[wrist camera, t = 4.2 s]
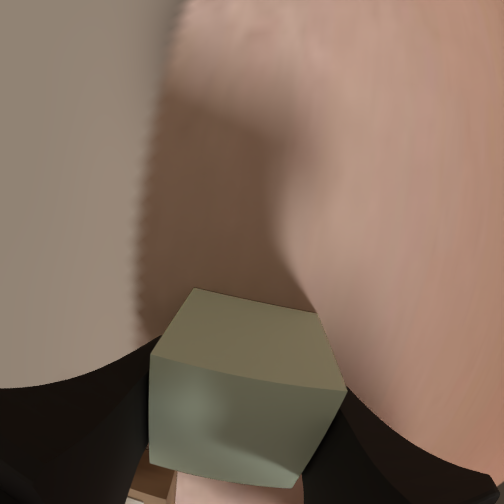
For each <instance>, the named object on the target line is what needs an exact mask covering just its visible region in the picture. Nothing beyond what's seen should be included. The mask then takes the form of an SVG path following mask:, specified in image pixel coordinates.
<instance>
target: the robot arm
mask: <svg viewBox="0 0 504 504" xmlns="http://www.w3.org/2000/svg"><path fill="white" fill-rule="evenodd" d="M161 337H162V335H161V336H159V337H157V338H155V339H154V340H152V341H150V342H148V343H147V344H145V345H144V346H142V347H140V348H138V349H137V350H135V351H133V352H131V353H130V354H128V355H126V356H124V357H122V358H121V359H119V360H117V361H114V362H112V363H110V364H108V365H106V366H104V367H102V368H100V369H97V370H95V371H92V372H89V373H87V374H84V375H81V376H78V377H75V378H71V379H68V380H64V381H59V382H54V383H50V384H45V385H39V386H33V387H23V388H10V389H9V388H7V389H6V388H4V389H1V388H0V504H125V502H126V499H127V496H128V493H129V490H130V487H131V484H132V481H133V478H134V475H135V472H136V469H137V466H138V464H139V461H140V459H141V457H142V455H143V453H144V451H145V449H146V447H147V445H148V443H149V372H150V354H151V352H152V351H153V349H154V347H155V346H156V344H157V343H158V341H159V340H160V338H161ZM346 388H347V391H348V392H347V394H346V396H345V398H344V400H343V402H342V404H341V406H340V408H339V409H338V411H337V413H336V415H335V417H334V419H333V421H332V423H331V425H330V426H329V428H328V430H327V432H326V434H325V435H324V437H323V439H322V441H321V442H320V444H319V446H318V447H317V449H316V451H315V452H314V454H313V456H312V457H311V459H310V461H309V462H308V464H307V465H306V467H305V469H304V470H303V472H302V479H303V489H304V504H495V503H496V501H497V500H498V498H499V496H500V492H499V490H498V488H497V487H496V485H495V483H494V481H493V480H492V478H491V477H490V475H488V474H484V473H480V472H476V471H473V470H469V469H466V468H462V467H459V466H457V465H454V464H452V463H449V462H447V461H444V460H442V459H440V458H438V457H436V456H434V455H432V454H430V453H428V452H426V451H424V450H423V449H421V448H419V447H417V446H416V445H414V444H412V443H411V442H409V441H408V440H406V439H405V438H404V437H402V436H401V435H399V434H398V433H397V432H395V431H394V430H392V429H391V428H390V427H389V426H387V425H386V424H385V423H384V422H383V421H382V420H380V419H379V418H378V417H377V416H376V415H375V414H374V413H373V412H372V411H371V410H369V409H368V408H367V407H366V406H365V405H364V404H363V403H362V402H361V401H360V400H359V399H358V398H357V397H356V395H355V394H354V393H353V392H352V391H351V390H350V389H349V388H348V387H347V386H346Z"/></svg>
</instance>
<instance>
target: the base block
mask: <svg viewBox="0 0 504 504" xmlns="http://www.w3.org/2000/svg"><path fill="white" fill-rule="evenodd" d="M176 482H177V471H176V470H172V469H168V468H165V467H161V466H158V465H154V464H151V463H150V459H149V450H148V449H145V451H144V453H143V455H142V457H141V459H140V461H139V464H138V466H137V469H136V472H135V475H134V478H133V481H132V484H131V487H130V490H129V493H128V496H127V499H126V502H125V504H175V495H176Z"/></svg>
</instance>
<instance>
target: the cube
mask: <svg viewBox="0 0 504 504" xmlns="http://www.w3.org/2000/svg"><path fill="white" fill-rule="evenodd" d="M347 392H348V391H347V388H346V385H345V383H344V380H343V377H342V375H341V372H340V370H339V367H338V364H337V362H336V359H335V357H334V354H333V352H332V349H331V346H330V344H329V341H328V339H327V336H326V334H325V331H324V329H323V326H322V324H321V321H320V319H319V317H318V314H317V313H312V312H307V311H301V310H296V309H291V308H286V307H281V306H276V305H271V304H266V303H261V302H256V301H252V300H247V299H242V298H238V297H233V296H229V295H224V294H220V293H215V292H211V291H206V290H202V289H198V288H193V290H192V291H191V293H190V294H189V296H188V297H187V299H186V300H185V302H184V303H183V305H182V306H181V308H180V309H179V311H178V312H177V314H176V315H175V317H174V318H173V320H172V321H171V323H170V324H169V326H168V328H167V329H166V331H165V332H164V334H163V335H162V337H161V338H160V340H159V341H158V343H157V344H156V346H155V347H154V349H153V351H152V352H151V354H150V372H149V459H150V463H151V464H154V465H158V466H161V467H165V468H168V469H172V470H176V471H179V472H183V473H187V474H192V475H196V476H200V477H205V478H210V479H215V480H221V481H227V482H233V483H239V484H247V485H255V486H264V487H275V488H290V489H291V488H292V487H293V485H294V484H295V482H296V481H297V479H298V478H299V476H300V475H301V473H302V472H303V470H304V469H305V467H306V465H307V464H308V462H309V461H310V459H311V457H312V456H313V454H314V452H315V451H316V449H317V447H318V446H319V444H320V442H321V441H322V439H323V437H324V435H325V434H326V432H327V430H328V428H329V426H330V425H331V423H332V421H333V419H334V417H335V415H336V413H337V411H338V409H339V408H340V406H341V404H342V402H343V400H344V398H345V396H346V394H347Z"/></svg>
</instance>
